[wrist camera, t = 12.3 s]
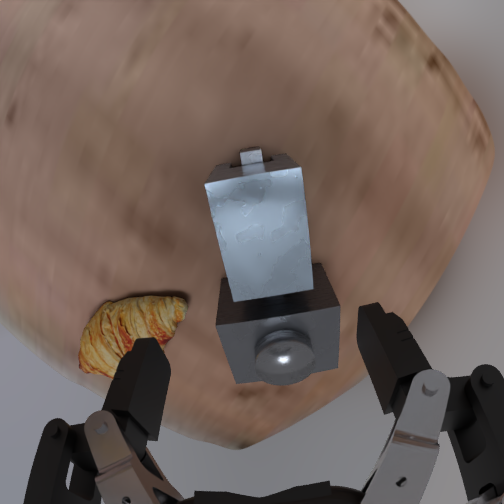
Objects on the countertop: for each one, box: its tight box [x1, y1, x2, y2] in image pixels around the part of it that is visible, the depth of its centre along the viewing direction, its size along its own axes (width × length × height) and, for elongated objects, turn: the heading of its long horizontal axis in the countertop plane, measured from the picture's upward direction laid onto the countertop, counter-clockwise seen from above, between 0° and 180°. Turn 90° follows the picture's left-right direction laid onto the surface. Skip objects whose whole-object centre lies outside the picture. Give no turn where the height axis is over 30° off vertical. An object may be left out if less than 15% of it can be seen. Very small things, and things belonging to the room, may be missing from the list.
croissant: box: [78, 296, 188, 379], centre depth 29 cm, size 21×10×8 cm, turn 126°
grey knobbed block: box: [216, 146, 340, 385], centre depth 23 cm, size 20×10×9 cm, turn 10°
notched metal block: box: [205, 153, 313, 302], centre depth 22 cm, size 9×6×7 cm, turn 10°
